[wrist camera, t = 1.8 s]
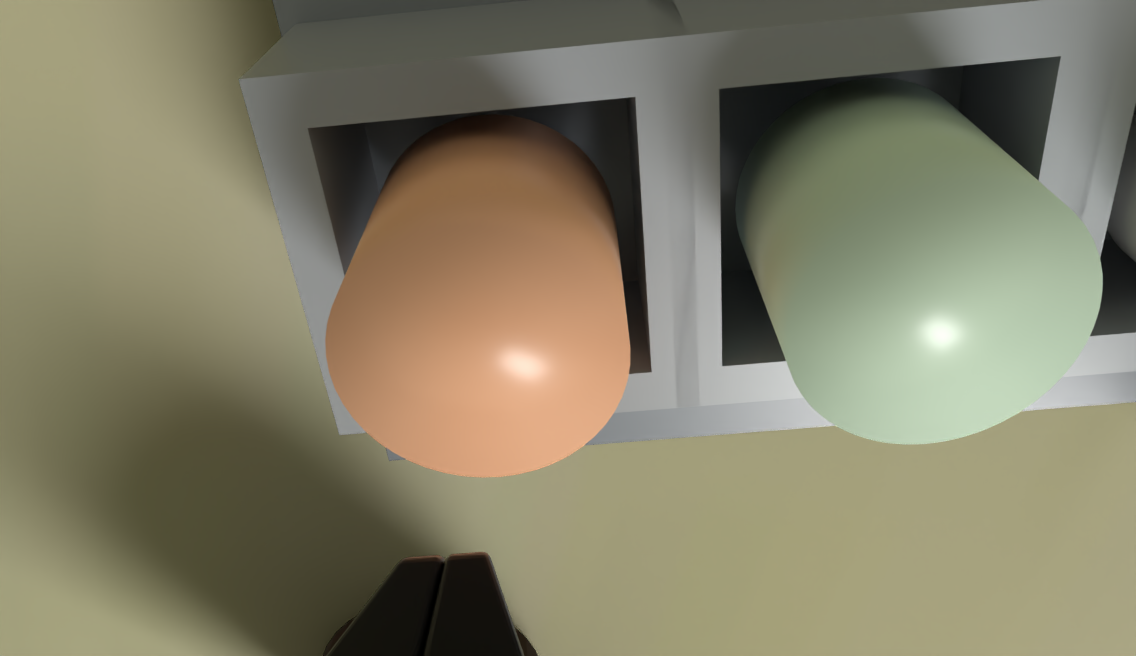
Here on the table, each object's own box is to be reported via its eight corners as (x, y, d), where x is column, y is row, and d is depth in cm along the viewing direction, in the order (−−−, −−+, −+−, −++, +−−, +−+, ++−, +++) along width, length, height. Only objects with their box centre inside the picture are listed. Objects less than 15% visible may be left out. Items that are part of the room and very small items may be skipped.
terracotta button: (607, 102, 14) (620, 207, 11) (623, 320, 16) (639, 466, 13) (354, 126, 15) (291, 237, 11) (402, 340, 17) (360, 487, 13)
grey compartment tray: (1440, -331, 14) (1760, -365, 11) (1216, 362, 21) (1361, 495, 17) (246, -196, 15) (139, -183, 11) (397, 428, 22) (362, 568, 18)
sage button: (996, 65, 14) (1134, 161, 11) (963, 292, 16) (1070, 432, 13) (735, 90, 14) (789, 191, 11) (735, 311, 16) (780, 455, 13)
